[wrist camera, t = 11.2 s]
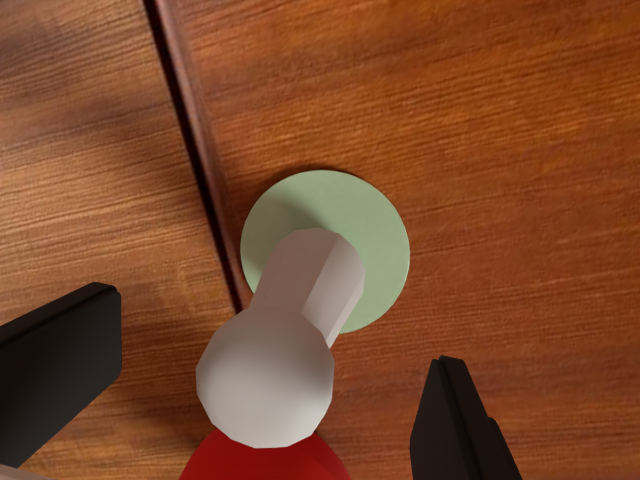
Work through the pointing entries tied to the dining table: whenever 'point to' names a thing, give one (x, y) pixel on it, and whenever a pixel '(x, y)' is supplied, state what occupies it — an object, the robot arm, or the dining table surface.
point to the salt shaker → (282, 343)
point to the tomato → (263, 461)
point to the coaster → (337, 216)
